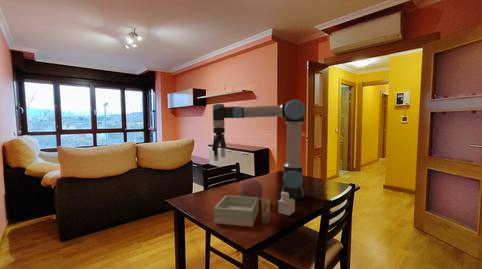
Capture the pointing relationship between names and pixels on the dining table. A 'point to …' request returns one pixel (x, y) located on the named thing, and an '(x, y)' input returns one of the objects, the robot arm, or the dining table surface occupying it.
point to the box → (236, 210)
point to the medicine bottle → (286, 203)
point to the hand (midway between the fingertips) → (219, 158)
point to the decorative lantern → (251, 188)
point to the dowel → (265, 210)
